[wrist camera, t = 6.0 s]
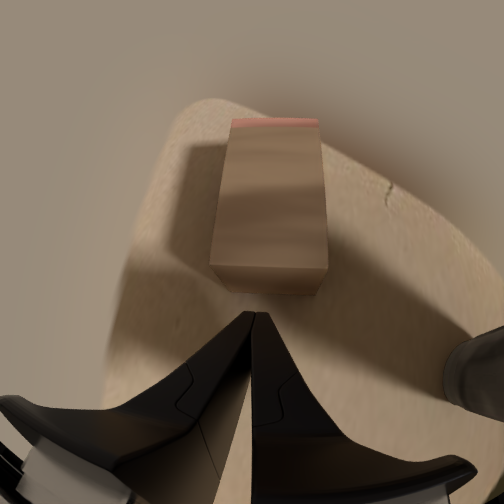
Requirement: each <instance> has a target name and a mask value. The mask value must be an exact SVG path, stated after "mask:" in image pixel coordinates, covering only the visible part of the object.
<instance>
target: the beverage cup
mask: <svg viewBox="0 0 504 504" xmlns="http://www.w3.org/2000/svg"><path fill="white" fill-rule="evenodd" d="M443 388H444V393H445V395H446V397H447V398H448V400H449V401H450V402H451V403H453V404H454V405H458V406H460V407H462V408H464V409H465V410H467V411H470V412H473V413H476V414H479V415H482V416H485V417H488V418H491V419H494V420H498V421H501V422H504V326H501V327H499V328H496V329H494V330H491V331H489V332H486V333H484V334H481V335H479V336H476V337H475V338H473V339H471V340H469V341H465V342H463V343H461V344H460V345H458V346H457V347H456V348H455V349H454V351H453V352H452V353H451V355H450V357H449V359H448V360H447V362H446V366H445V369H444V373H443Z"/></svg>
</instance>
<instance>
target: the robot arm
mask: <svg viewBox="0 0 504 504" xmlns="http://www.w3.org/2000/svg"><path fill="white" fill-rule="evenodd" d="M250 377H251V403H252V482H251V504H450V499H449V495H450V494H451V493H453V492H454V491H456V490H457V489H459V488H460V487H462V486H463V485H465V484H466V483H467V482H469V481H470V480H471V479H473V478H474V477H475V476H476V475H477V473H478V470H477V469H476V468H475V466H474V465H473V464H472V463H470V462H469V461H468V460H465V459H463V458H461V457H459V456H456V455H446V456H442V457H439V458H436V459H432V460H428V461H423V462H411V461H404V460H401V459H397V458H394V457H392V456H389V455H386V454H383V453H381V452H378V451H375V450H373V449H370V448H368V447H365V446H363V445H360V444H358V443H356V442H354V441H352V440H351V439H349V438H348V437H347V436H346V435H345V434H344V433H343V432H342V431H341V430H340V429H339V428H338V426H337V425H336V424H335V423H334V421H333V420H332V419H331V417H330V416H329V415H328V414H327V412H326V411H325V410H324V409H323V407H322V406H321V405H320V403H319V402H318V401H317V399H316V398H315V397H314V395H313V394H312V392H311V391H310V389H309V388H308V386H307V384H306V383H305V381H304V379H303V377H302V375H301V374H300V372H299V370H298V368H297V366H296V364H295V362H294V361H293V359H292V357H291V355H290V353H289V351H288V349H287V347H286V345H285V344H284V342H283V340H282V338H281V336H280V334H279V332H278V330H277V328H276V326H275V324H274V323H273V321H272V319H271V317H270V315H269V313H268V312H256V313H255V312H253V311H243V312H242V313H241V314H240V315H239V316H238V317H236V318H235V319H234V320H233V321H232V322H231V323H230V324H229V325H227V326H226V327H225V328H224V329H223V330H222V331H221V332H219V333H218V334H217V335H216V336H215V337H214V338H212V339H211V340H210V341H209V342H208V343H207V344H205V345H204V346H203V347H202V348H201V349H200V350H198V351H197V352H196V353H195V354H194V355H193V356H191V357H190V358H189V359H188V360H187V361H186V363H185V362H184V363H183V364H182V365H181V366H179V367H178V368H177V369H176V370H174V371H173V372H172V373H170V374H169V375H168V376H167V377H165V378H164V379H162V380H161V381H159V382H158V383H156V384H155V385H153V386H152V387H150V388H149V389H147V390H145V391H144V392H142V393H140V394H139V395H137V396H136V397H134V398H132V399H131V400H129V401H127V402H126V403H124V404H122V405H120V406H118V407H115V408H112V409H106V410H81V409H80V410H79V409H60V408H49V407H43V406H39V405H36V404H33V403H31V402H29V401H28V400H26V399H25V398H23V397H21V396H19V395H5V396H0V411H1V412H2V413H3V415H4V416H5V417H6V418H7V420H8V421H9V422H10V423H11V424H12V425H13V426H14V427H15V428H16V429H17V430H18V431H19V432H20V434H21V435H22V436H23V437H24V438H25V439H26V440H28V442H29V443H30V444H31V445H33V447H32V449H31V450H30V452H29V454H28V455H27V457H26V458H25V460H24V461H22V460H21V459H20V458H19V457H17V456H16V455H15V454H14V453H13V452H12V451H10V450H9V449H8V448H7V447H6V446H5V445H4V444H3V443H1V442H0V504H213V502H214V499H215V496H216V493H217V489H218V486H219V483H220V480H221V477H222V473H223V470H224V467H225V464H226V460H227V457H228V454H229V451H230V447H231V444H232V440H233V437H234V434H235V430H236V427H237V423H238V420H239V416H240V413H241V409H242V406H243V402H244V399H245V395H246V392H247V388H248V384H249V381H250ZM485 504H504V492H503V493H502V494H500V495H499V496H497V497H495V498H494V499H492V500H490V501H489V502H487V503H485Z"/></svg>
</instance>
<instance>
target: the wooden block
mask: <svg viewBox="0 0 504 504" xmlns="http://www.w3.org/2000/svg"><path fill="white" fill-rule="evenodd" d="M209 265H210V267H211V268H212V269H213V271H214V272H215V273H216V274H217V276H218V277H219V278H220V280H221V281H222V282H223V283H224V285H225V286H226V287H227V289H228V290H229V291H230V292H244V293H264V294H290V295H315V294H316V293H317V291H318V289H319V287H320V285H321V283H322V281H323V279H324V277H325V275H326V273H327V271H328V236H327V214H326V198H325V184H324V172H323V161H322V151H321V142H320V134H319V126H318V119H306V118H244V119H232V123H231V129H230V134H229V139H228V145H227V150H226V156H225V162H224V167H223V173H222V179H221V185H220V191H219V198H218V204H217V210H216V217H215V224H214V231H213V237H212V245H211V252H210V259H209Z"/></svg>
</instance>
